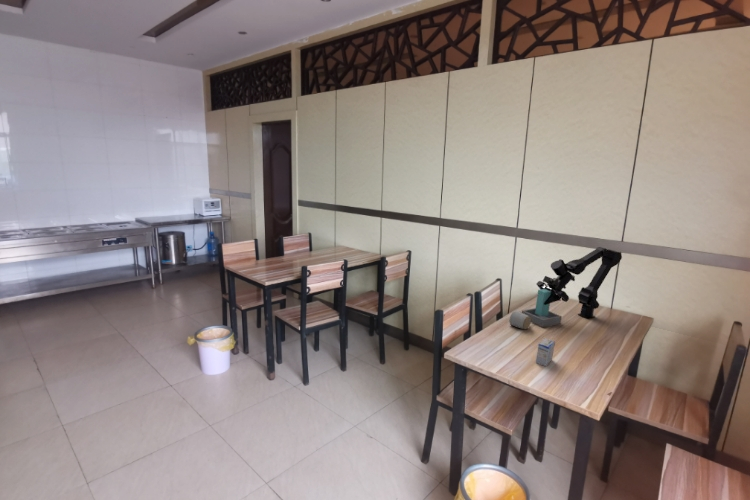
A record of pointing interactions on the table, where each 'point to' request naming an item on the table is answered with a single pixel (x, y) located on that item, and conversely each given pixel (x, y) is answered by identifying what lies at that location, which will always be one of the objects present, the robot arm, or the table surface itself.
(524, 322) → the ceramic mug
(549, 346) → the medicine box
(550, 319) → the box
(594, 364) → the table surface
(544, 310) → the handle block
